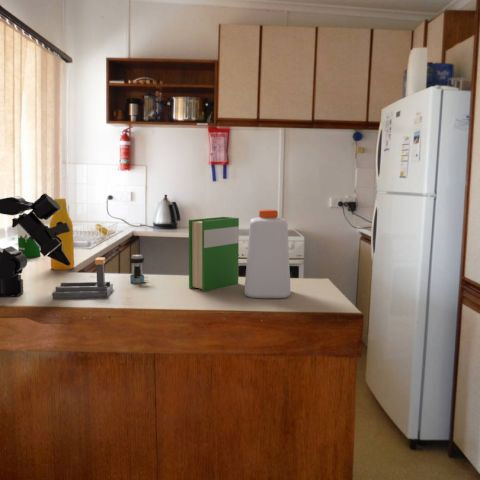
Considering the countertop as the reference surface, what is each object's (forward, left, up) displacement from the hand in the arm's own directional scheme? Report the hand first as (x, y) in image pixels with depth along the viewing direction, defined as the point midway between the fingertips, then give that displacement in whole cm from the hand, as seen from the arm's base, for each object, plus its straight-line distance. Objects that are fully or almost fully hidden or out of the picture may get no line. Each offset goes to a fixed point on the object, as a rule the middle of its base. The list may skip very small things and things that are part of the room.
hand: (69, 264), depth 166 cm
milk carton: (-35, +75, -10) cm, 84 cm away
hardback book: (+48, +7, -10) cm, 50 cm away
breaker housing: (+5, -2, -10) cm, 11 cm away
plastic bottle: (+65, -6, -10) cm, 66 cm away
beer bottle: (-13, +45, -10) cm, 48 cm away
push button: (+21, +15, -10) cm, 28 cm away
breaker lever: (+10, -2, -7) cm, 13 cm away
